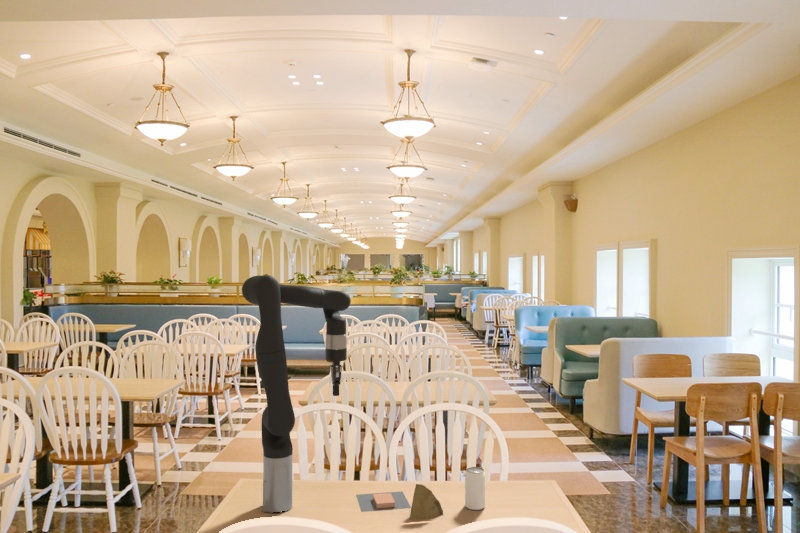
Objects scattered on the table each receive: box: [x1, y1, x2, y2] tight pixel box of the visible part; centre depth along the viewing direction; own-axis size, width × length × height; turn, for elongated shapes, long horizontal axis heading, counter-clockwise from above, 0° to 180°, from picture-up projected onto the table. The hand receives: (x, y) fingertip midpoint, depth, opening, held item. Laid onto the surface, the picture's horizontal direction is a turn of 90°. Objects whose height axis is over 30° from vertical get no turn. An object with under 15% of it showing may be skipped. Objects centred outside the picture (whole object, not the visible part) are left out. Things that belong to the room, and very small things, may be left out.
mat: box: [355, 491, 412, 513], centre depth 194 cm, size 16×14×1 cm
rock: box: [409, 483, 444, 520], centre depth 183 cm, size 11×9×10 cm
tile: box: [372, 492, 395, 508], centre depth 192 cm, size 6×2×8 cm
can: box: [464, 466, 486, 511], centre depth 191 cm, size 6×6×12 cm
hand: (335, 395), depth 209 cm, fingers closed
